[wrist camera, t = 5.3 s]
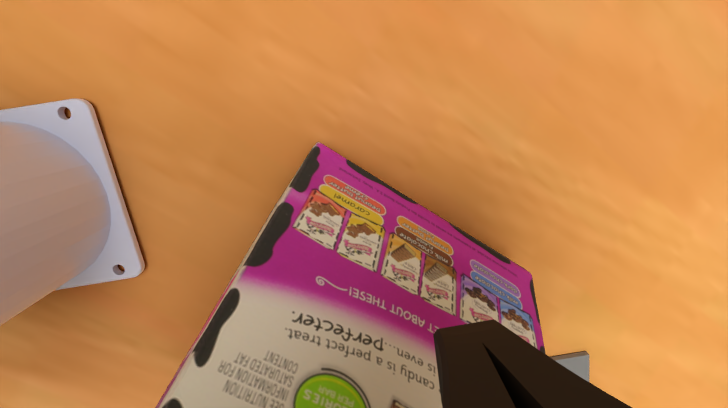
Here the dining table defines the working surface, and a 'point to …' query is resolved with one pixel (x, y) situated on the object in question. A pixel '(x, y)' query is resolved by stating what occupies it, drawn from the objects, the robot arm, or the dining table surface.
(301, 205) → the candy bar box
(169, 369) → the dining table surface
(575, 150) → the dining table surface
